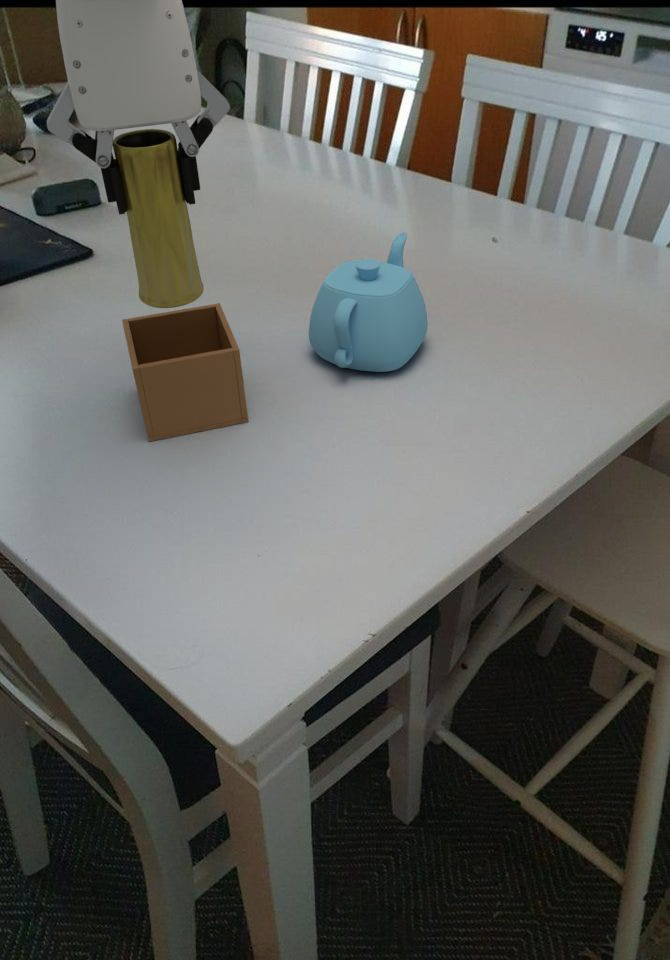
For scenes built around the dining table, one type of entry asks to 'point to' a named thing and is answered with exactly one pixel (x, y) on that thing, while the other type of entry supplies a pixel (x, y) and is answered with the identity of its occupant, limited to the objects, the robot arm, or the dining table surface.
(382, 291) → the teapot
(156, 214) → the vase
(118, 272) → the dining table surface
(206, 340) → the package
